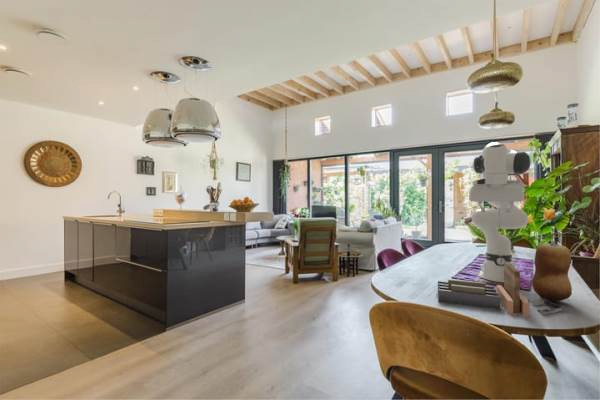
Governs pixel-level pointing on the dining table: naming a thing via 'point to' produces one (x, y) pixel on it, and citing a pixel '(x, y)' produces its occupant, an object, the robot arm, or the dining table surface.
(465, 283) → the offcut
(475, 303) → the rack
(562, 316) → the dining table surface
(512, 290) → the tall sheet
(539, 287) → the butternut squash
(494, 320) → the dining table surface
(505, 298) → the holder
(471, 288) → the offcut
